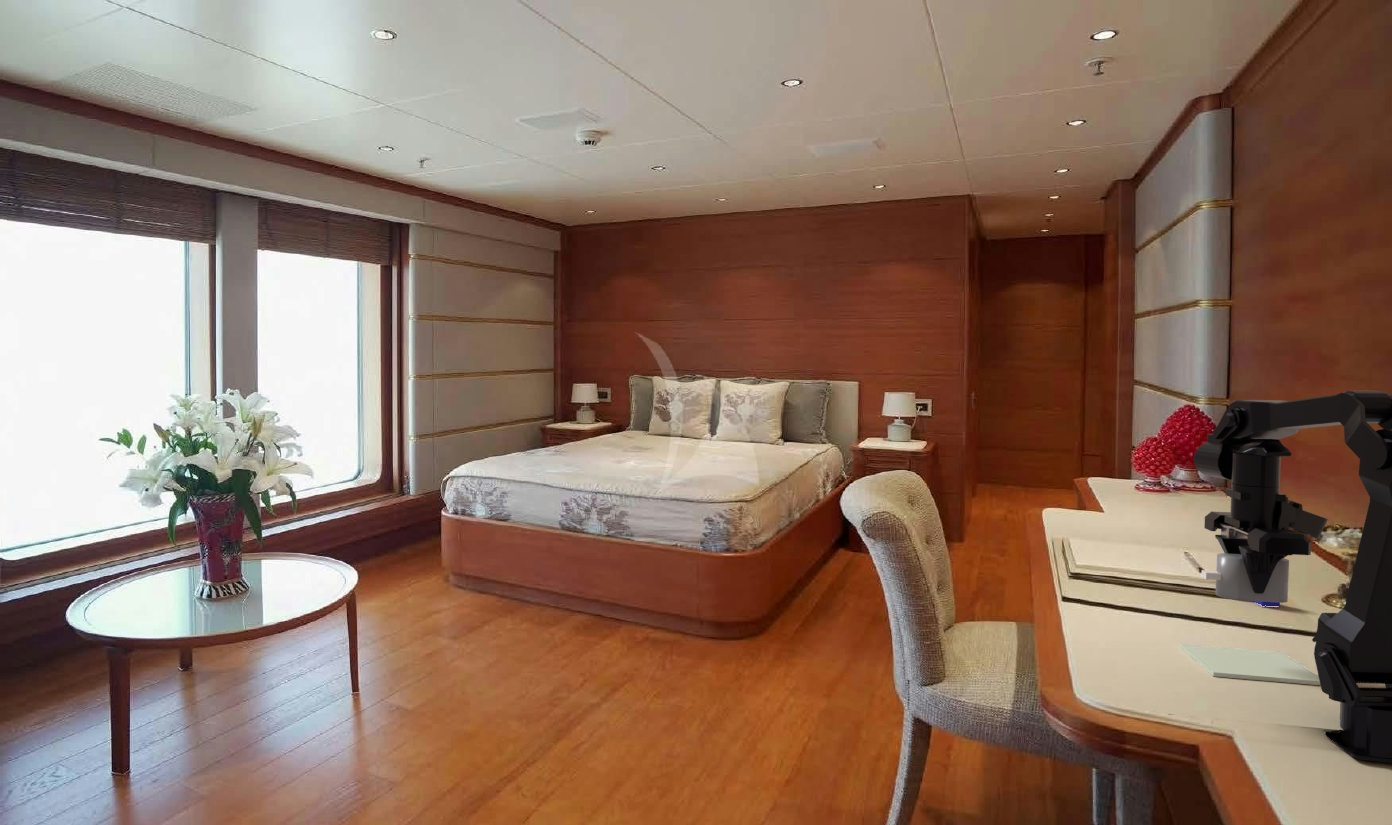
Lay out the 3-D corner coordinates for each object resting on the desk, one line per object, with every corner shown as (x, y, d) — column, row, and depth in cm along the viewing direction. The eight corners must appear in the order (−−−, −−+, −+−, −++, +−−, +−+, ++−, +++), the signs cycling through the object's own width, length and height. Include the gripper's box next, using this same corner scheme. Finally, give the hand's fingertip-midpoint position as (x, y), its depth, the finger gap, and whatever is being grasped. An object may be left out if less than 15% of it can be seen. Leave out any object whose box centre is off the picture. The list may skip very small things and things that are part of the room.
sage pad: (1327, 685, 105) (1327, 681, 105) (1213, 676, 108) (1213, 672, 108) (1281, 655, 116) (1281, 651, 116) (1180, 647, 120) (1180, 643, 120)
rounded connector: (1293, 603, 109) (1294, 562, 109) (1208, 598, 111) (1210, 557, 111) (1278, 595, 113) (1280, 556, 112) (1197, 590, 115) (1198, 551, 115)
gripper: (1358, 496, 100) (1354, 612, 101) (1284, 478, 118) (1280, 577, 119) (1263, 492, 103) (1258, 605, 103) (1204, 476, 121) (1201, 572, 122)
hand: (1251, 589), depth 112 cm, fingers closed on rounded connector, 4 cm apart
